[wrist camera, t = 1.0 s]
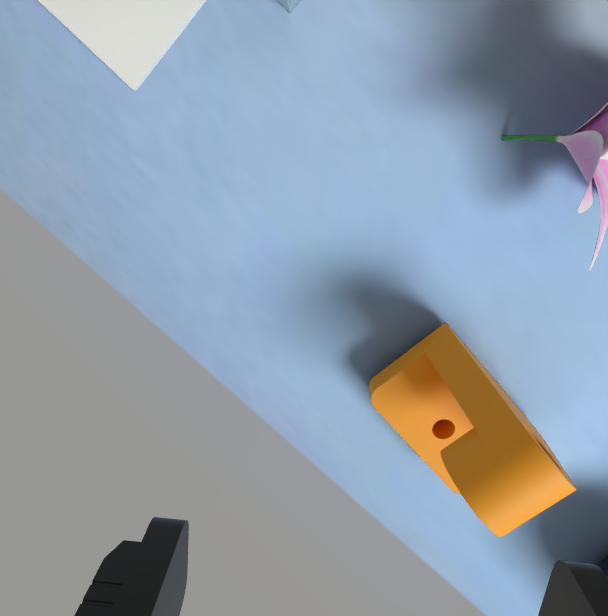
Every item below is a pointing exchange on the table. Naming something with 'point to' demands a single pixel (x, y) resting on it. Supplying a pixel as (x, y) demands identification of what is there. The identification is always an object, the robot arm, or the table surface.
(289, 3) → the socket block
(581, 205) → the lily
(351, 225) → the table surface
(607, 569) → the portable speaker
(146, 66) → the pad
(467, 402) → the bracket
